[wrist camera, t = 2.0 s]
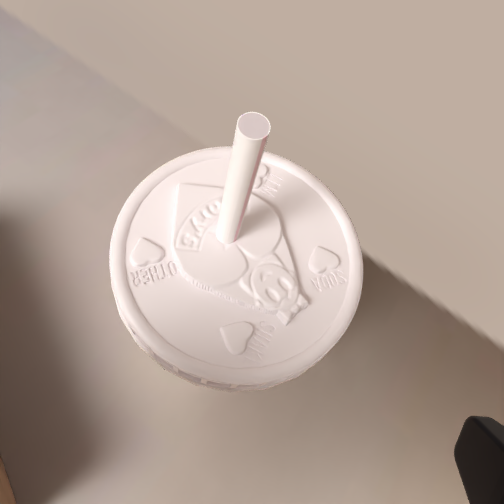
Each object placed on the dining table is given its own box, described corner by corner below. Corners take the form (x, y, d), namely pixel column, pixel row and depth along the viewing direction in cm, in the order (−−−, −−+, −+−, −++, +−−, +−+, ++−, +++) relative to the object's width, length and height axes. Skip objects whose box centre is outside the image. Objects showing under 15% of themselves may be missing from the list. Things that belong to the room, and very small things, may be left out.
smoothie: (219, 242, 22) (280, -42, 9) (314, 344, 21) (536, 180, 8) (104, 330, 20) (-23, 112, 7) (204, 451, 18) (271, 458, 6)
